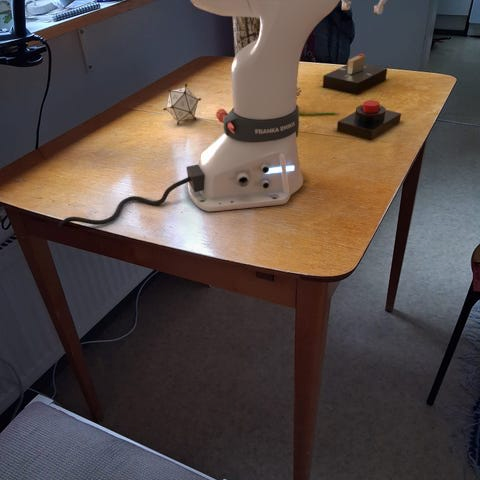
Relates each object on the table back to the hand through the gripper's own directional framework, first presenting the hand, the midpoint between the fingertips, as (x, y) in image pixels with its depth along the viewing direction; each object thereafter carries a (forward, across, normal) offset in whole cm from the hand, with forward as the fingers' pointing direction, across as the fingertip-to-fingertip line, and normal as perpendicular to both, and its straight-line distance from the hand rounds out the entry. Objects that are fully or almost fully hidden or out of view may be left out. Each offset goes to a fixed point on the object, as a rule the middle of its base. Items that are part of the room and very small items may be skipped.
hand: (361, 11), depth 120 cm
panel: (+17, 0, 0) cm, 17 cm away
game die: (+17, -19, -46) cm, 52 cm away
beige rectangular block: (+14, 0, 0) cm, 14 cm away
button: (+13, +19, -23) cm, 33 cm away
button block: (+17, +19, -23) cm, 34 cm away
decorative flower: (+17, +1, -23) cm, 29 cm away
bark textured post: (+17, -3, -38) cm, 41 cm away
